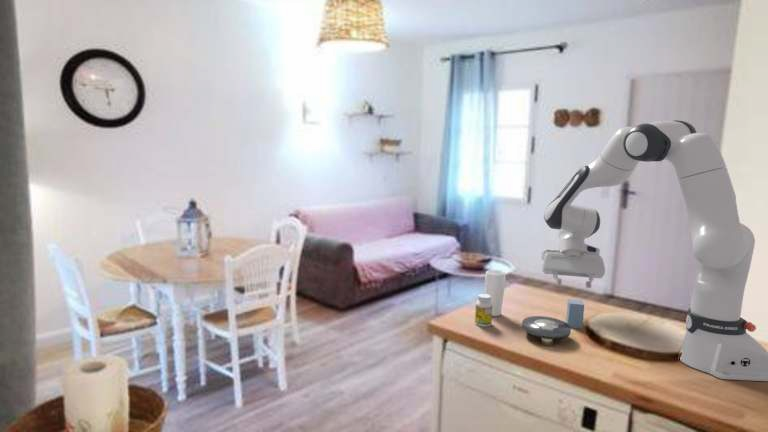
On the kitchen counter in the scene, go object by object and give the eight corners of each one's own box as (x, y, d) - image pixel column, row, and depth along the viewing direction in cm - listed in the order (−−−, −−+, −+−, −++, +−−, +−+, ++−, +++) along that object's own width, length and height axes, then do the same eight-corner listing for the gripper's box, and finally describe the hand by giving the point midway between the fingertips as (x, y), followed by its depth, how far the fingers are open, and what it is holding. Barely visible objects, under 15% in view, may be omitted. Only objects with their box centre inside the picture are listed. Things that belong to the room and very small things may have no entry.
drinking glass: (503, 318, 156) (506, 275, 154) (483, 316, 158) (485, 274, 155) (502, 311, 163) (505, 270, 161) (483, 309, 164) (485, 269, 162)
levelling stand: (566, 330, 147) (567, 316, 146) (572, 349, 134) (574, 334, 133) (520, 325, 150) (521, 312, 150) (522, 343, 137) (523, 328, 136)
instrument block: (580, 323, 154) (582, 300, 152) (582, 328, 149) (584, 304, 148) (566, 321, 155) (568, 299, 153) (567, 326, 150) (569, 303, 149)
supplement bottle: (494, 325, 150) (496, 297, 149) (481, 328, 148) (482, 299, 146) (485, 319, 155) (486, 292, 153) (471, 321, 153) (473, 294, 151)
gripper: (542, 244, 166) (542, 278, 158) (604, 249, 161) (607, 284, 153) (540, 254, 171) (540, 287, 163) (600, 258, 166) (603, 293, 158)
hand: (573, 285), depth 158 cm, fingers open, 8 cm apart
